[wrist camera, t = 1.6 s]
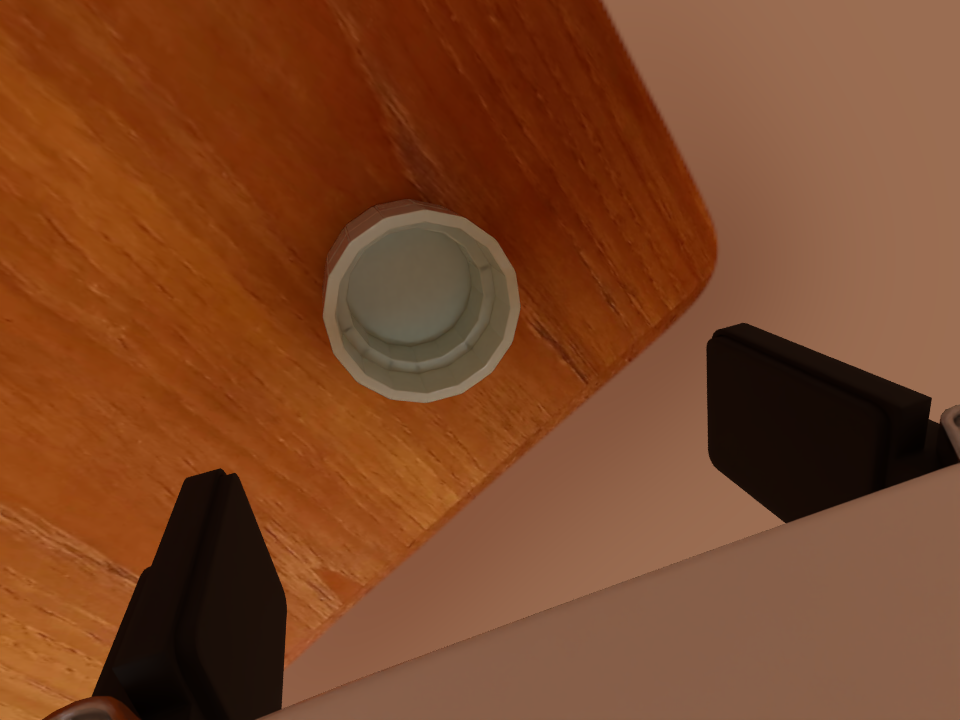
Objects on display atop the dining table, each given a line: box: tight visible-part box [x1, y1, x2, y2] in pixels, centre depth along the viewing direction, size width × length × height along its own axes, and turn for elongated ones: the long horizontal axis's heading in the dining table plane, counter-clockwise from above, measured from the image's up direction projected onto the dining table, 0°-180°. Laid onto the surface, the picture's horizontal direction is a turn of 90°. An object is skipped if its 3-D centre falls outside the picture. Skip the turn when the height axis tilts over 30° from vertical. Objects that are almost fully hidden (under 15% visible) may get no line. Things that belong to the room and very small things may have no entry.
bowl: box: [322, 199, 521, 403], centre depth 22 cm, size 7×7×4 cm
